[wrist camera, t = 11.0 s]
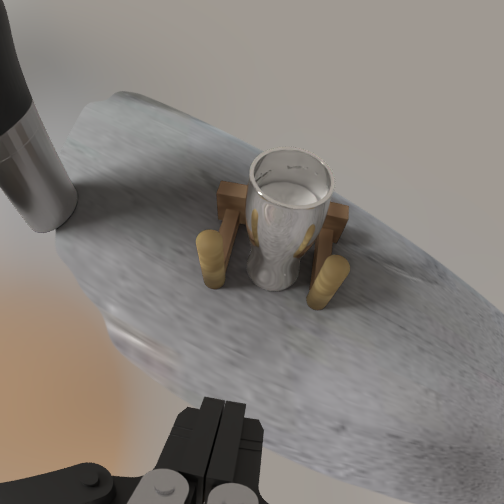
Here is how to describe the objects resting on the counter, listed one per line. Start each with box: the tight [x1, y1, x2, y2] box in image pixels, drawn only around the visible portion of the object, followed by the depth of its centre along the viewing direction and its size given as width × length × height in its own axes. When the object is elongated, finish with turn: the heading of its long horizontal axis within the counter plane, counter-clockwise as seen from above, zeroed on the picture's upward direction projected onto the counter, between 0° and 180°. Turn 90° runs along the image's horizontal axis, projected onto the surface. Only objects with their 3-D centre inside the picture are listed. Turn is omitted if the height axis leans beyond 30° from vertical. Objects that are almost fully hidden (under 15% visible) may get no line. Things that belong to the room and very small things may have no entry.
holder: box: [196, 181, 350, 310], centre depth 33 cm, size 15×11×8 cm
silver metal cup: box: [245, 147, 335, 291], centre depth 29 cm, size 7×7×15 cm
